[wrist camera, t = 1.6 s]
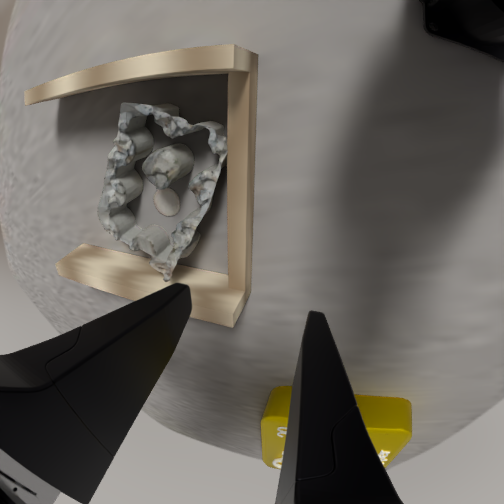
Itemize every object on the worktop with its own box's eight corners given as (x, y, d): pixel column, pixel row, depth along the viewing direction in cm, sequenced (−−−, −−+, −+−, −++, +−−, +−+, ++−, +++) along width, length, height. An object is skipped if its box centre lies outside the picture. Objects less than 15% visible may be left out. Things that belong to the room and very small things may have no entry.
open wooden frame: (258, 54, 14) (234, 44, 11) (250, 292, 23) (233, 327, 19) (61, 84, 18) (24, 91, 15) (85, 254, 27) (58, 275, 23)
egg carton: (194, 260, 23) (168, 291, 20) (119, 213, 23) (86, 235, 20) (252, 136, 17) (227, 148, 14) (155, 90, 17) (115, 94, 14)
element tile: (377, 453, 31) (374, 483, 27) (270, 440, 35) (261, 469, 31) (417, 394, 24) (419, 435, 20) (271, 379, 28) (257, 418, 24)
